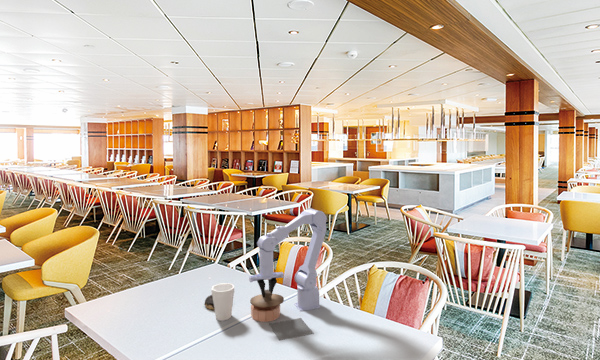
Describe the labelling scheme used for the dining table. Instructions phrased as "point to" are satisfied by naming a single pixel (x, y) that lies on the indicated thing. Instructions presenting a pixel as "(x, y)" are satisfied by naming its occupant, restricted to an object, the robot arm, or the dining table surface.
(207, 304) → the donut
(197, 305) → the dining table surface
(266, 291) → the lid
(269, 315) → the bowl
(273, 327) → the mat
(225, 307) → the foam cup
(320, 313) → the dining table surface
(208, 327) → the dining table surface
